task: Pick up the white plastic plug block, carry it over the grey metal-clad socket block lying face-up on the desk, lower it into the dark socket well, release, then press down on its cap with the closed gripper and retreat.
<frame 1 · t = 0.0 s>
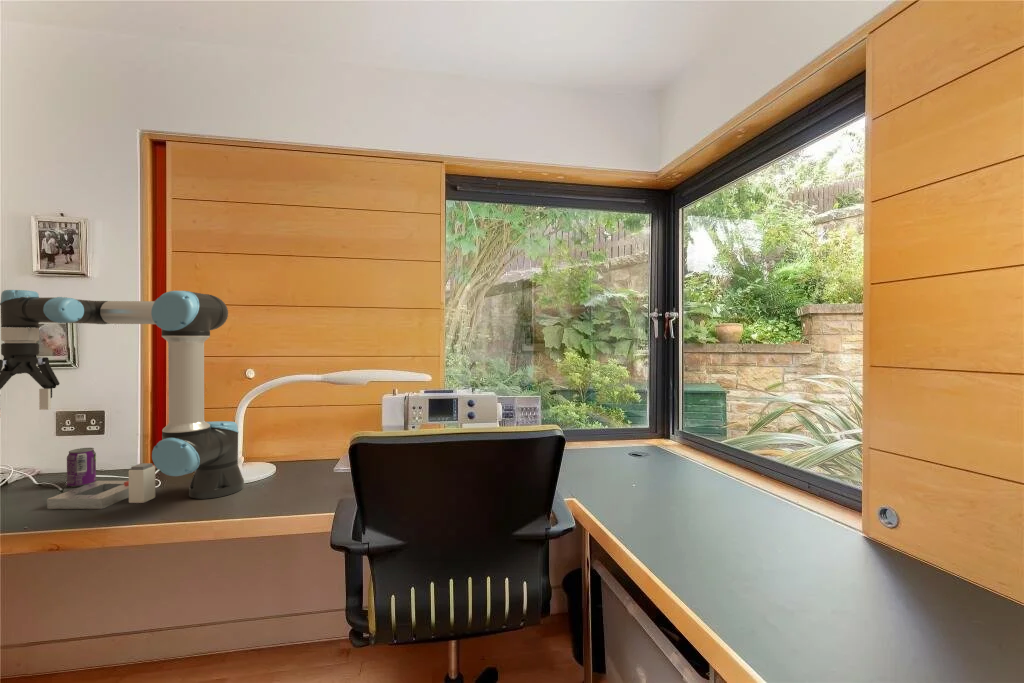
hand: (21, 413, 130), 28 cm above the table, fingers open, 13 cm apart
beverage can: (81, 485, 150), on the table
socket block: (99, 498, 137), on the table
plug: (142, 500, 136), on the table
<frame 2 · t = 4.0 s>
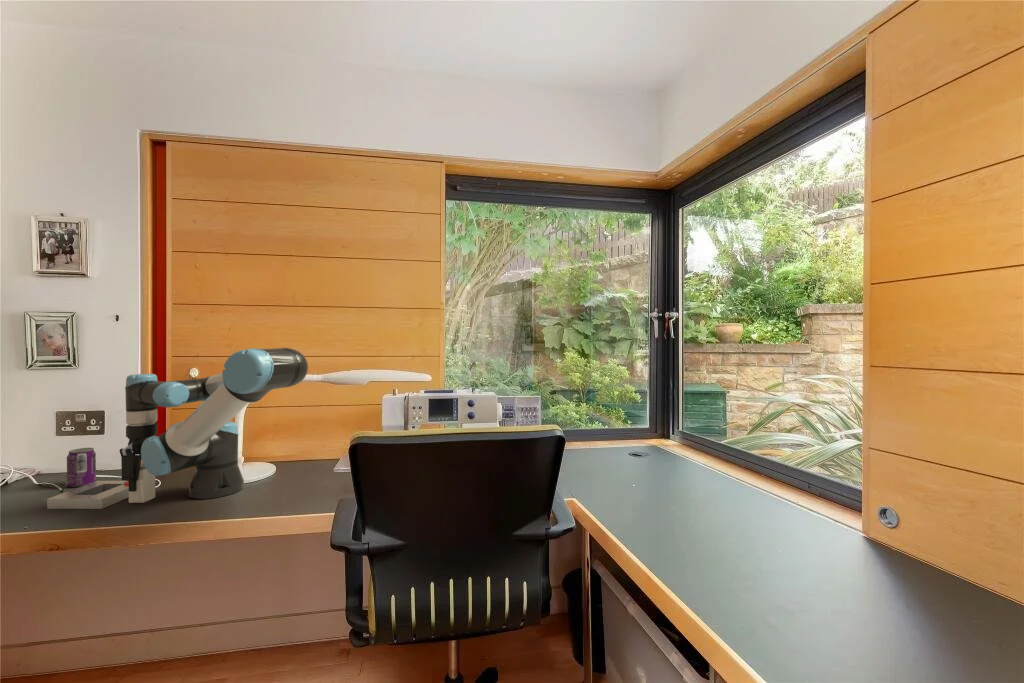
hand: (142, 497, 136), 1 cm above the table, fingers closed on plug, 4 cm apart
plug: (142, 499, 136), on the table, touching gripper
everything else where it was.
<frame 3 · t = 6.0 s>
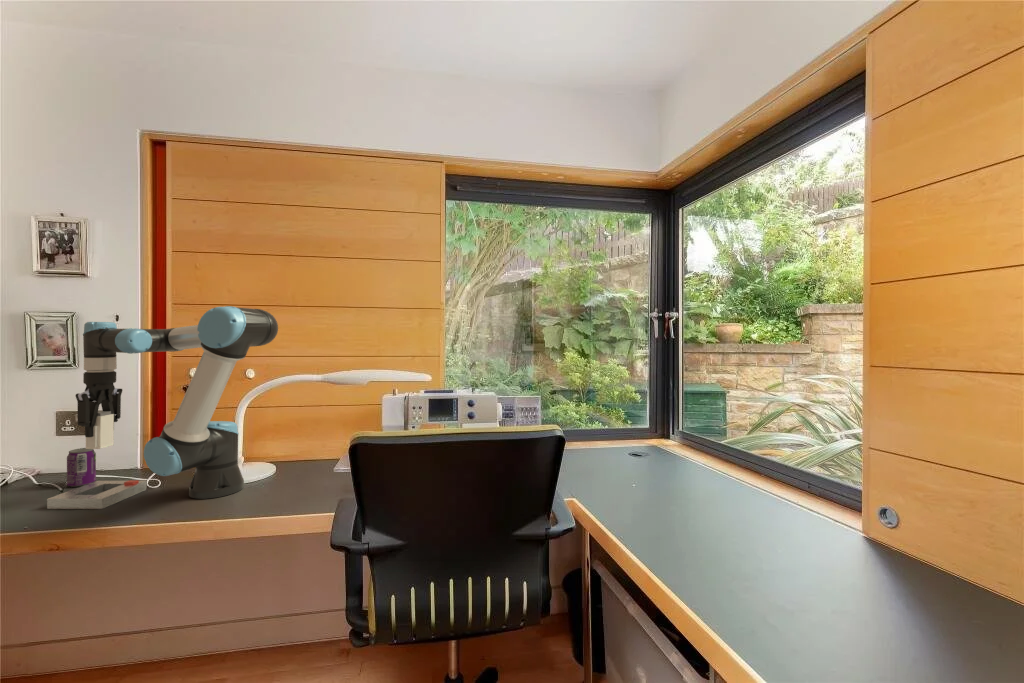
hand: (99, 444, 137), 17 cm above the table, fingers closed on plug, 4 cm apart
plug: (99, 446, 137), point 16 cm above the table, touching gripper
everything else where it was.
when the fingers open (3 cm above the table, at t = 8.4 s): plug drops 2 cm, resting on socket block.
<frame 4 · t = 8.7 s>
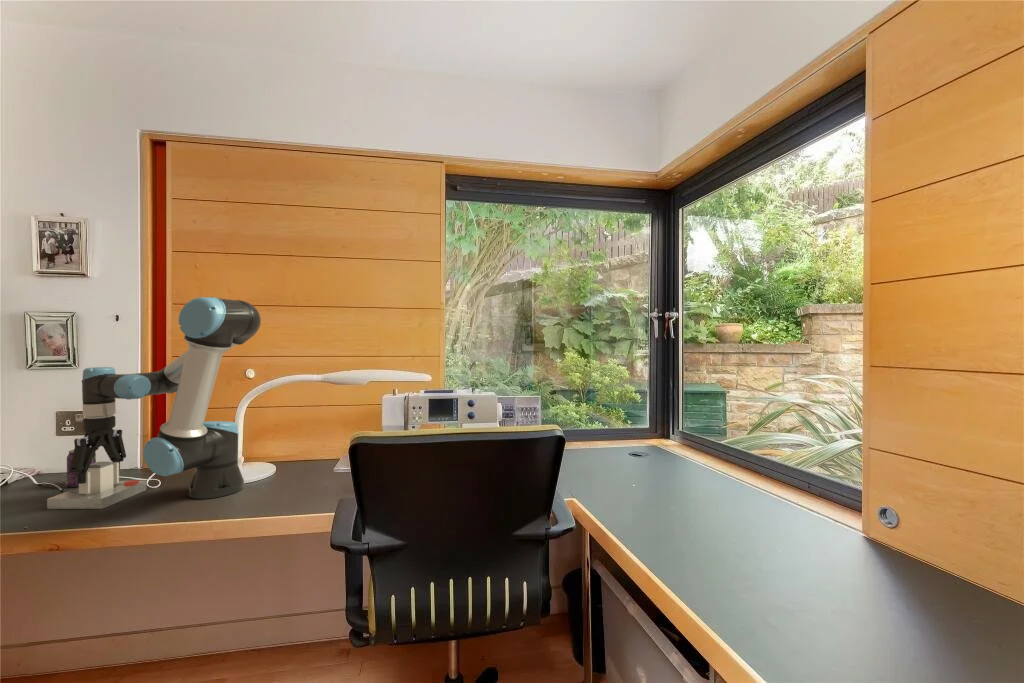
hand: (99, 487, 137), 4 cm above the table, fingers open, 9 cm apart
plug: (99, 498, 137), resting on socket block
everything else where it was.
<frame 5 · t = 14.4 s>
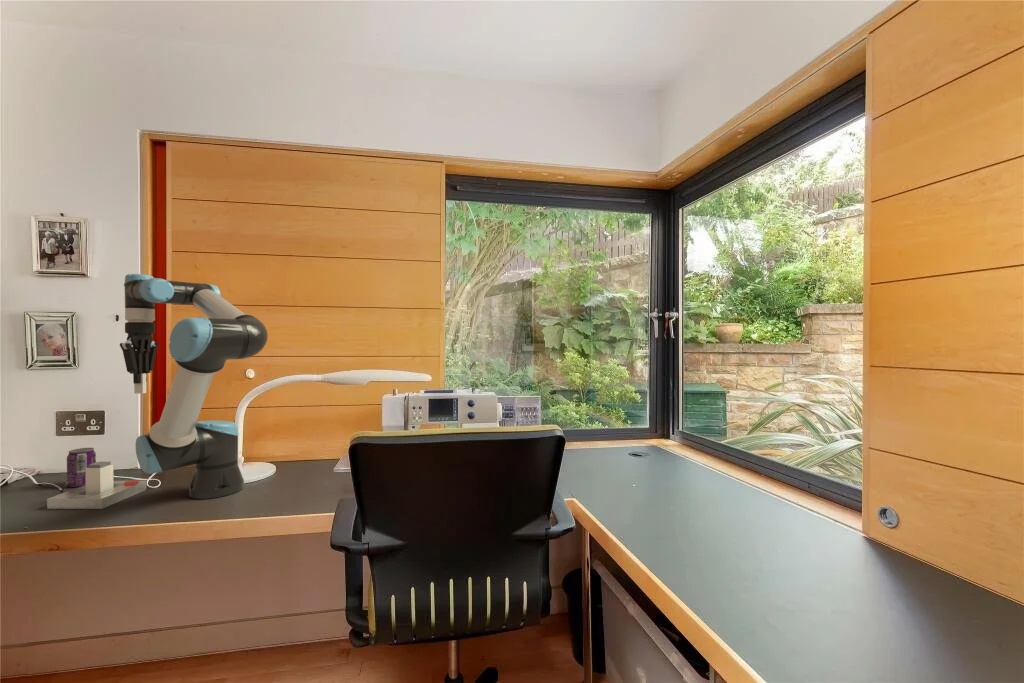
hand: (140, 393, 144), 32 cm above the table, fingers closed
nothing on the table moved.
at the end: plug 0.0 cm off-centre on the socket block, point 0.2 cm above the socket block's base; plug tilted 0°; the gripper is holding nothing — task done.
